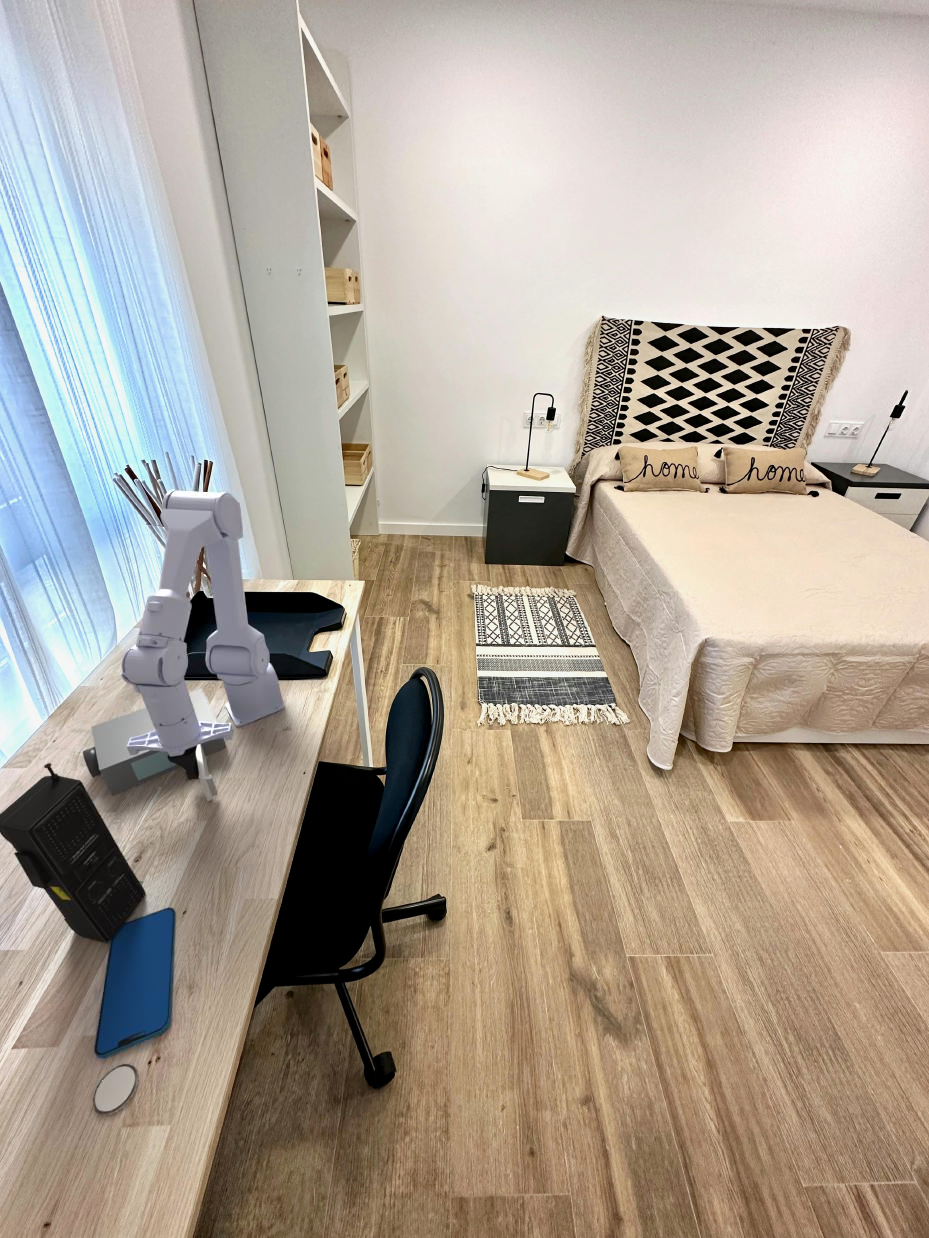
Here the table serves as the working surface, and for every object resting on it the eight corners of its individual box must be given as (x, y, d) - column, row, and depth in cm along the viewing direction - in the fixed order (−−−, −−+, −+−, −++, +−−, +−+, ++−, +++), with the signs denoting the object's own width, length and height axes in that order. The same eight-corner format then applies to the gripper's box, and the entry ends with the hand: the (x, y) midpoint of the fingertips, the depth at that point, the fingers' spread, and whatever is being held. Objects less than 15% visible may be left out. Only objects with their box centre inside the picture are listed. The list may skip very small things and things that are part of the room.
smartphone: (175, 904, 68) (169, 1027, 57) (177, 908, 69) (171, 1031, 57) (112, 926, 66) (91, 1060, 54) (114, 931, 66) (94, 1064, 55)
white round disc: (132, 1056, 55) (130, 1053, 55) (144, 1091, 53) (142, 1088, 52) (89, 1089, 53) (87, 1087, 52) (100, 1127, 50) (98, 1125, 50)
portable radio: (105, 954, 63) (17, 826, 50) (64, 943, 64) (-33, 815, 51) (150, 893, 70) (83, 766, 57) (112, 884, 71) (38, 757, 58)
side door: (201, 759, 90) (193, 739, 87) (210, 756, 90) (204, 736, 88) (207, 801, 82) (200, 780, 80) (218, 797, 83) (211, 776, 80)
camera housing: (209, 711, 101) (201, 688, 98) (226, 748, 93) (219, 724, 90) (91, 755, 91) (78, 731, 87) (99, 801, 82) (86, 776, 79)
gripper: (110, 739, 72) (139, 803, 79) (220, 723, 75) (239, 785, 82) (124, 706, 77) (151, 768, 85) (226, 692, 81) (244, 753, 88)
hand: (195, 774), depth 84 cm, fingers closed, pressing on side door
